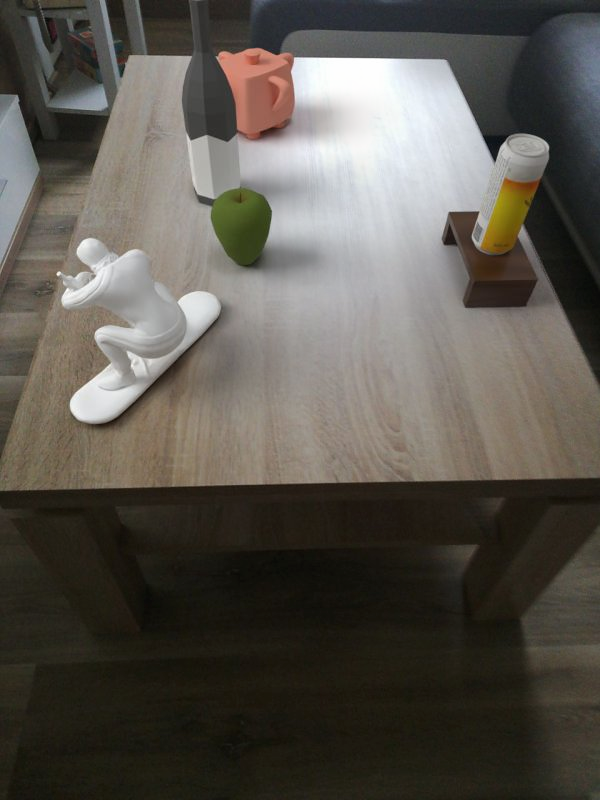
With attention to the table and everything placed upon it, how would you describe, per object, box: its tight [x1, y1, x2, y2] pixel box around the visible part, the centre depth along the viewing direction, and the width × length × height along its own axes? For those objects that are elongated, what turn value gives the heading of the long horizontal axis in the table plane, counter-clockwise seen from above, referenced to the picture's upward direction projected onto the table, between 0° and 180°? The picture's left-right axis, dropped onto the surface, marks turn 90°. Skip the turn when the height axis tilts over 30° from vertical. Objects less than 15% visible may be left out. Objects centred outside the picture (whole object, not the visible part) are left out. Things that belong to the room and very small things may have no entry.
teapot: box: [217, 47, 296, 140], centre depth 105 cm, size 17×16×13 cm
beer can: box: [472, 133, 550, 255], centre depth 75 cm, size 6×6×15 cm
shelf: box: [441, 210, 539, 308], centre depth 83 cm, size 16×9×5 cm, turn 3°
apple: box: [210, 187, 273, 266], centre depth 81 cm, size 9×8×12 cm
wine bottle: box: [181, 0, 242, 207], centre depth 84 cm, size 8×8×30 cm
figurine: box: [56, 237, 222, 425], centre depth 66 cm, size 26×13×17 cm, turn 148°
